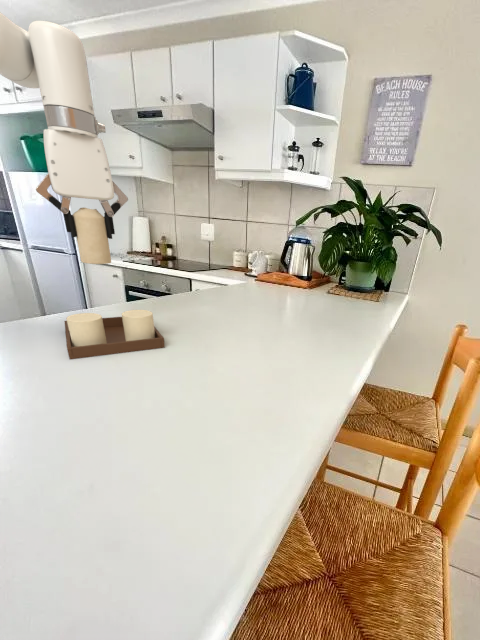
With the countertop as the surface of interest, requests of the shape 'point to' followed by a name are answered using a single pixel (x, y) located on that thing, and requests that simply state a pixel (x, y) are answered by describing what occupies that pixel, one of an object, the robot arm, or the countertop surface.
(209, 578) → the countertop surface
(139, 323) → the cream candle right
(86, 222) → the candle
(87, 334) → the cream candle left
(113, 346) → the tray
